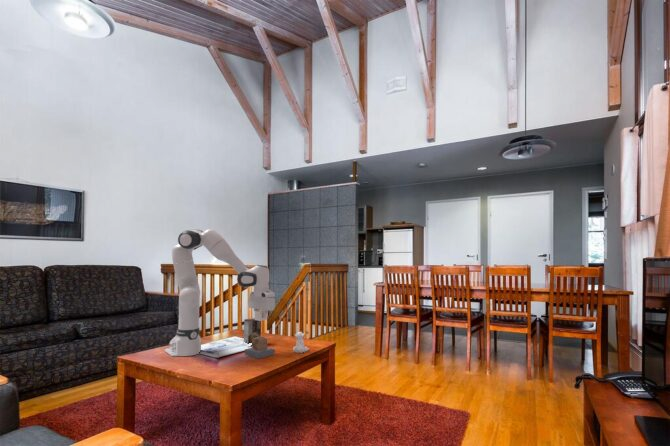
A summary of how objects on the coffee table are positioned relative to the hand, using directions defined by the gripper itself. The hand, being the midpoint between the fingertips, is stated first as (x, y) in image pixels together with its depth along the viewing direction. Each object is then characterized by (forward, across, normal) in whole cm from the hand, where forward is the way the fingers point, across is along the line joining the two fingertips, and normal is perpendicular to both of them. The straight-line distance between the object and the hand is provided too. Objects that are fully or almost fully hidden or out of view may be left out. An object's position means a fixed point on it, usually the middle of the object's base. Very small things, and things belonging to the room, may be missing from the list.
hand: (260, 317), depth 217 cm
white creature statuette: (+22, +13, +20) cm, 32 cm away
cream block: (+2, 0, 0) cm, 2 cm away
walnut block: (+18, 0, 0) cm, 18 cm away
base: (+21, 0, 0) cm, 21 cm away
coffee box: (+22, -21, +11) cm, 32 cm away
